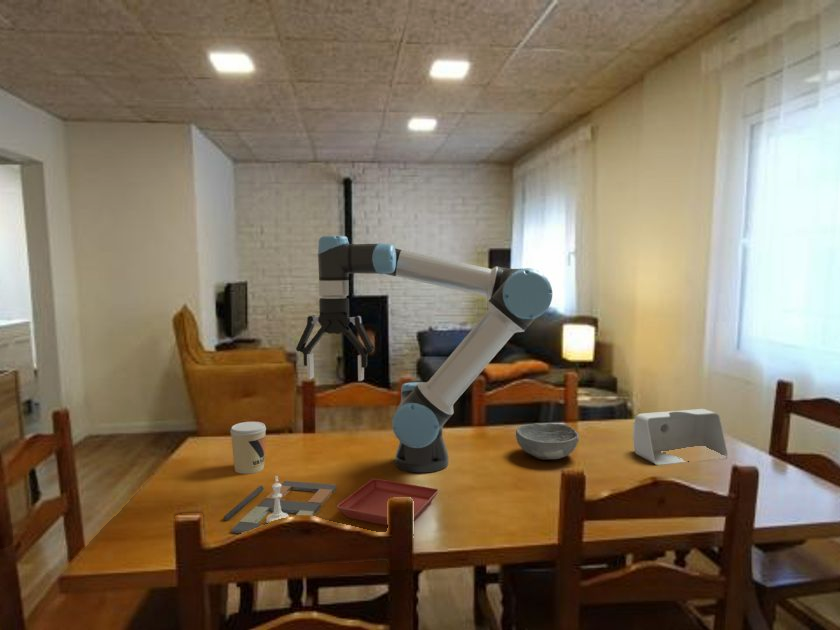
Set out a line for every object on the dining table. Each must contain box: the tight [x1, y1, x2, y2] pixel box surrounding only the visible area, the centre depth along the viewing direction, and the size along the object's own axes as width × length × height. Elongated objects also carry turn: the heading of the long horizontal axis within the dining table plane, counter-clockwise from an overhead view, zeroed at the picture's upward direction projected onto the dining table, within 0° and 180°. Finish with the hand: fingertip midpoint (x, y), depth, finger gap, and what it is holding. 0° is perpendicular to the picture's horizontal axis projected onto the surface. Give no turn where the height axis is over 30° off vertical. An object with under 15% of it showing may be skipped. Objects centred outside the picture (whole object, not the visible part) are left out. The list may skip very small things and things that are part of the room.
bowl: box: [515, 422, 580, 461], centre depth 160 cm, size 18×18×8 cm
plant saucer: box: [336, 478, 439, 526], centre depth 126 cm, size 18×18×3 cm
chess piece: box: [265, 475, 290, 524], centre depth 120 cm, size 5×5×10 cm
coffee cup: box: [229, 421, 267, 475], centre depth 150 cm, size 9×9×12 cm
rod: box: [223, 485, 264, 521], centre depth 128 cm, size 17×1×1 cm, turn 169°
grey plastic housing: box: [632, 408, 729, 466], centre depth 163 cm, size 25×16×12 cm, turn 104°
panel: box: [231, 480, 337, 534], centre depth 126 cm, size 14×26×1 cm, turn 169°
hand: (335, 379), depth 141 cm, fingers open, 13 cm apart
